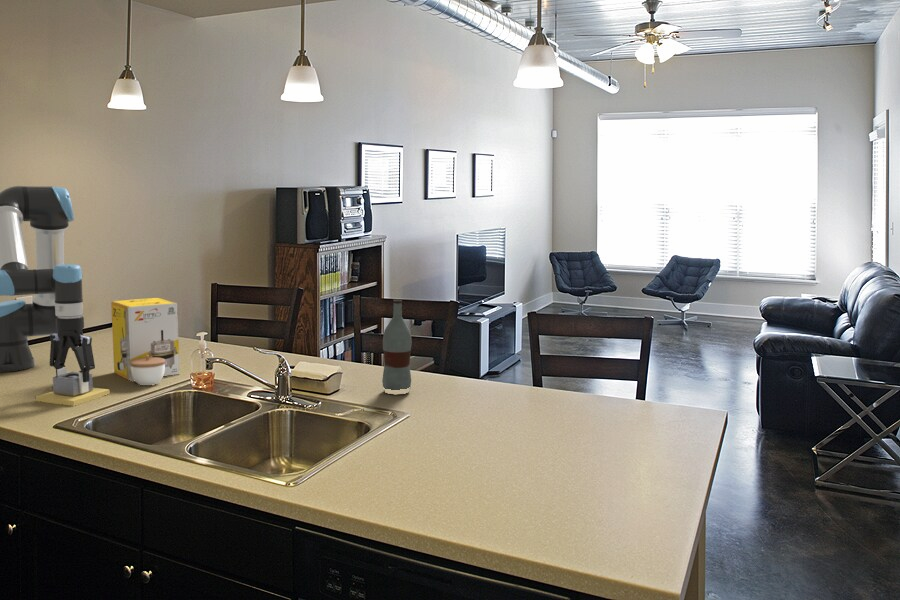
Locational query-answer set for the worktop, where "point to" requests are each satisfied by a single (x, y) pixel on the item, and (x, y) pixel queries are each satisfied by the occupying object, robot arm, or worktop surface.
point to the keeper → (72, 400)
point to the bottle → (397, 351)
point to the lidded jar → (147, 370)
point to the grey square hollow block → (69, 384)
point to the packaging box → (144, 333)
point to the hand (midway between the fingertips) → (73, 390)
